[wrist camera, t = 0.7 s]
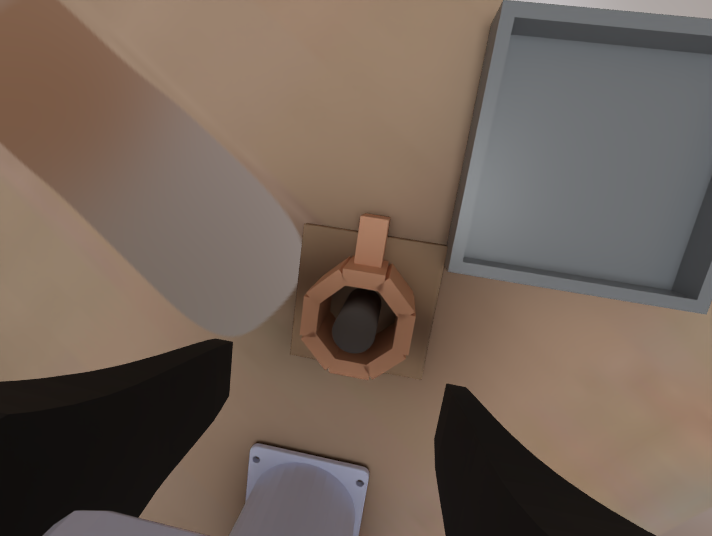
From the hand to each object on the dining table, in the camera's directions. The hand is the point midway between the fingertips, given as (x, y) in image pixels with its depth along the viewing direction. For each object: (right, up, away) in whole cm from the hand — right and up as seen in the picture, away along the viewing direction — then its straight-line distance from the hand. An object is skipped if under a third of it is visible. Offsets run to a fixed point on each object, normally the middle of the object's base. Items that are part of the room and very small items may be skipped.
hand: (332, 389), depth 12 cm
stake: (+1, +2, +10) cm, 10 cm away
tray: (+12, +9, +7) cm, 17 cm away
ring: (+1, +3, +9) cm, 9 cm away
